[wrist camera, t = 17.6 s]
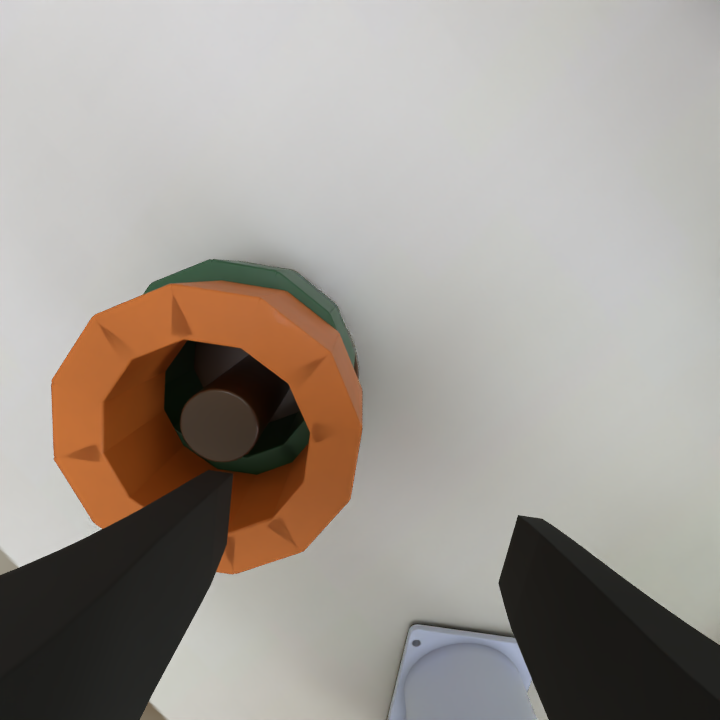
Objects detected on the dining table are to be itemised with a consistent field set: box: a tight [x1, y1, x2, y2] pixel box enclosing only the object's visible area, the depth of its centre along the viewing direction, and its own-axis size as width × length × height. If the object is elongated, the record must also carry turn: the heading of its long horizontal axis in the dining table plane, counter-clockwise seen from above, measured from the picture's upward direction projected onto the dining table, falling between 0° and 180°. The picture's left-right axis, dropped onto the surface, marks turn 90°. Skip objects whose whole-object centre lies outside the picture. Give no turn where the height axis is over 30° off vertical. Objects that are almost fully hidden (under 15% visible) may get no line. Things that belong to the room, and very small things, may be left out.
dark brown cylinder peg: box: [180, 326, 359, 462], centre depth 16 cm, size 9×9×7 cm
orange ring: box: [51, 280, 362, 574], centre depth 13 cm, size 9×9×4 cm
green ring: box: [144, 259, 355, 475], centre depth 16 cm, size 9×9×4 cm
